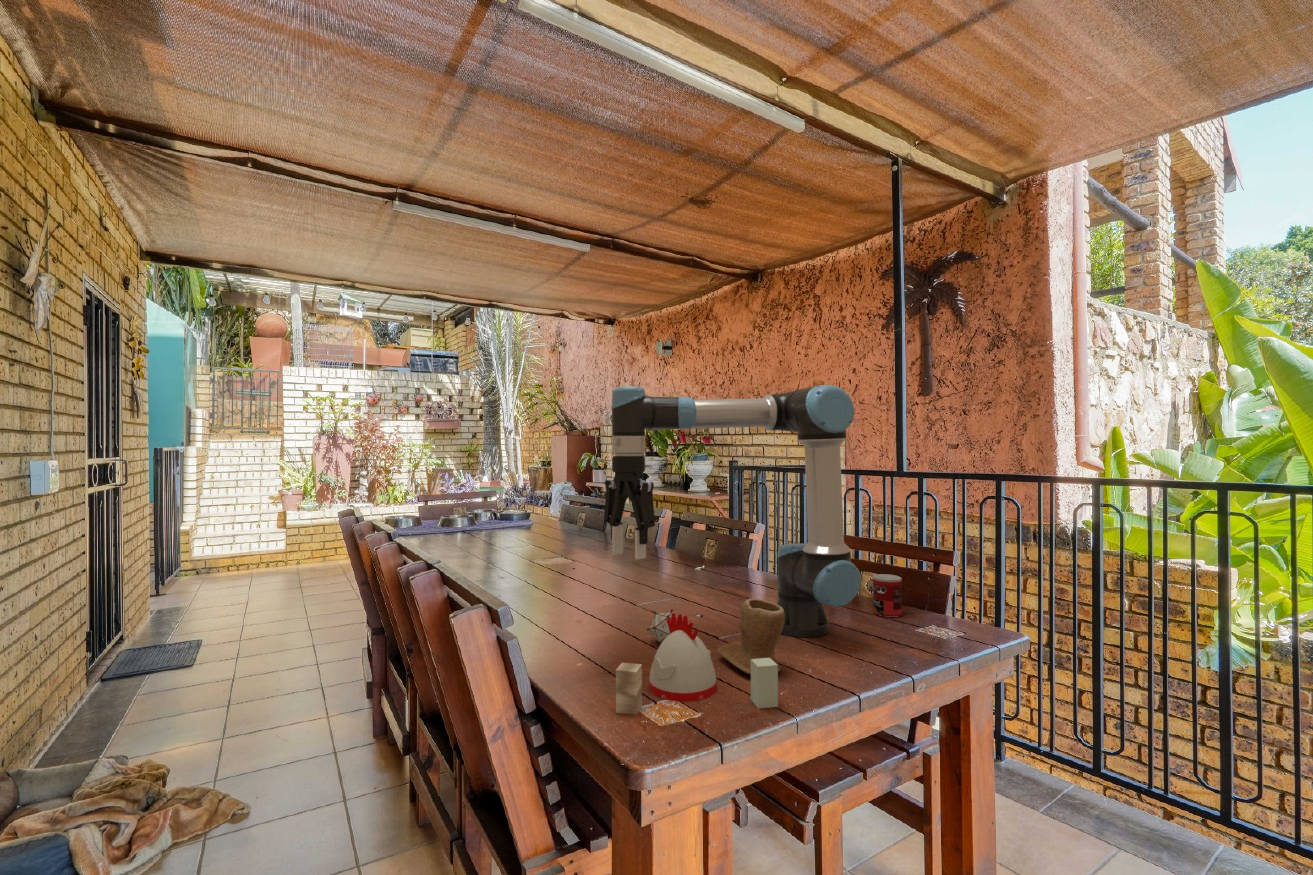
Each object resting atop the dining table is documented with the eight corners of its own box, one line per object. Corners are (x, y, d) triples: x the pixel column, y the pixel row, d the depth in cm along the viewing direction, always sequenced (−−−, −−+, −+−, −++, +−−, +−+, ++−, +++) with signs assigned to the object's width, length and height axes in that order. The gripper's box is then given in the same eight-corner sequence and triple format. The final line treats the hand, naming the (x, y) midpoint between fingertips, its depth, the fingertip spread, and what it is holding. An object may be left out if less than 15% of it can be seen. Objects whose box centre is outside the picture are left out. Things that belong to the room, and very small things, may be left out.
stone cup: (795, 675, 130) (795, 606, 130) (746, 682, 126) (746, 611, 126) (761, 652, 144) (760, 590, 145) (716, 658, 141) (716, 594, 141)
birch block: (642, 705, 116) (641, 664, 116) (636, 714, 112) (636, 671, 112) (622, 703, 116) (622, 662, 117) (616, 712, 113) (615, 670, 113)
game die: (670, 659, 150) (679, 635, 144) (639, 645, 152) (646, 620, 146) (682, 632, 157) (690, 608, 152) (652, 619, 159) (659, 595, 153)
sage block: (770, 697, 119) (769, 657, 119) (777, 706, 115) (777, 664, 115) (750, 699, 118) (750, 659, 118) (758, 708, 114) (757, 666, 114)
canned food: (870, 610, 180) (870, 573, 180) (898, 611, 179) (898, 574, 179) (876, 617, 172) (875, 579, 172) (905, 618, 171) (905, 580, 171)
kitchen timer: (680, 669, 134) (679, 602, 134) (729, 686, 125) (729, 614, 125) (635, 687, 124) (635, 615, 124) (685, 708, 115) (685, 629, 115)
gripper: (587, 454, 140) (588, 553, 140) (647, 455, 126) (648, 564, 126) (611, 454, 145) (611, 548, 145) (671, 455, 132) (672, 559, 132)
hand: (628, 556), depth 136 cm, fingers open, 7 cm apart
